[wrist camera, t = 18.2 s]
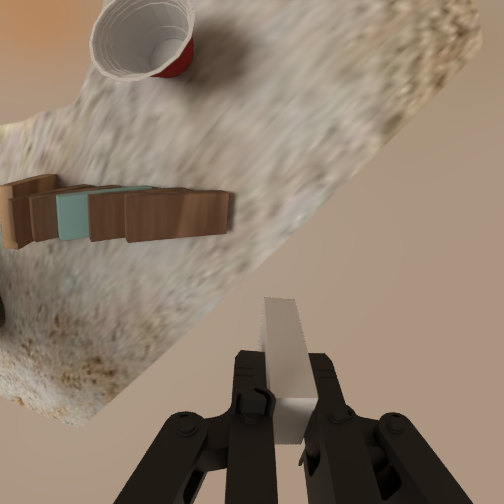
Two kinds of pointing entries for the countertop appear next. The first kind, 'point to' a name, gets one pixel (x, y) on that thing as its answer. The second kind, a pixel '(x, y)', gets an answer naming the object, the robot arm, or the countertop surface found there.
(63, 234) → the domino
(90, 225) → the domino
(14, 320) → the countertop surface
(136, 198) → the domino
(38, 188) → the block
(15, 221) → the domino
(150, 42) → the plastic cup
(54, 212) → the domino
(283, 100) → the countertop surface
